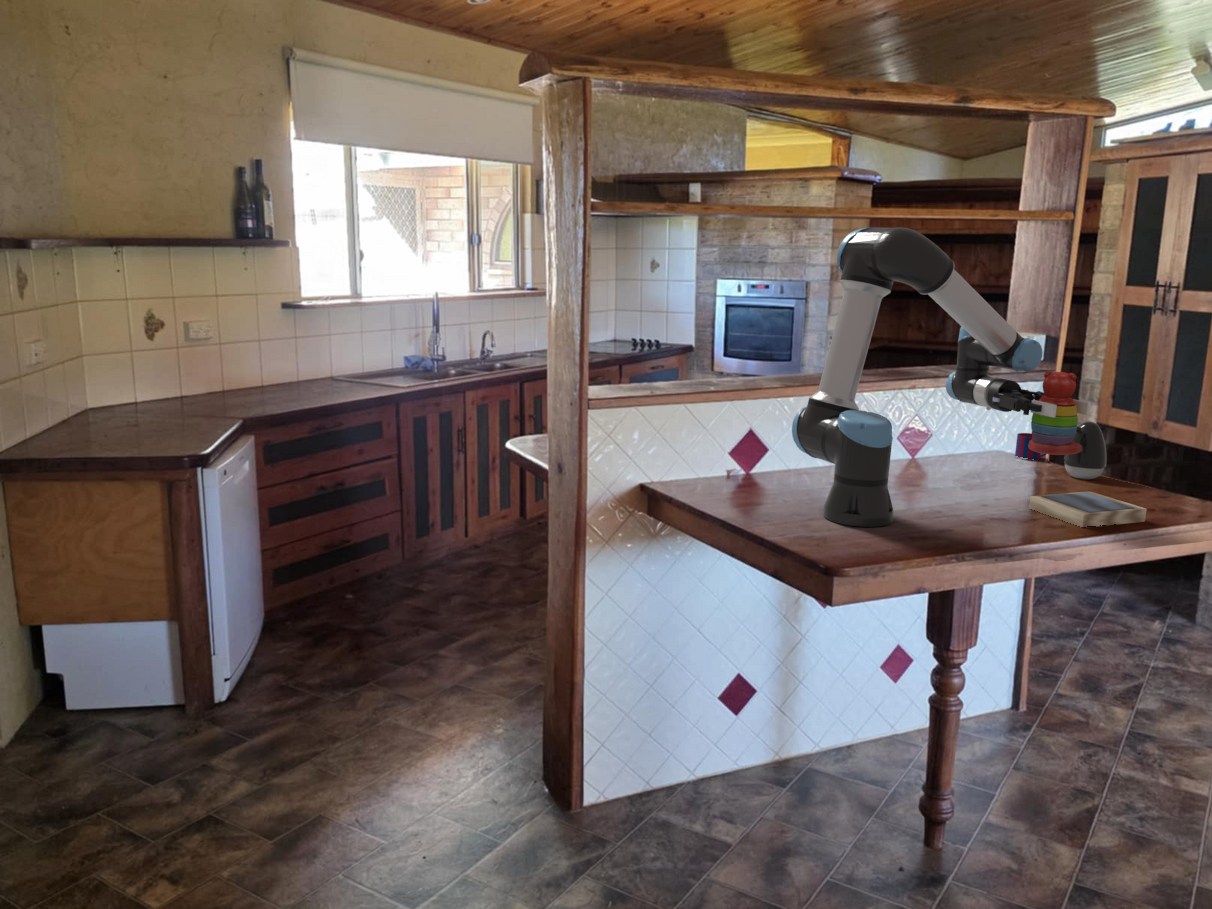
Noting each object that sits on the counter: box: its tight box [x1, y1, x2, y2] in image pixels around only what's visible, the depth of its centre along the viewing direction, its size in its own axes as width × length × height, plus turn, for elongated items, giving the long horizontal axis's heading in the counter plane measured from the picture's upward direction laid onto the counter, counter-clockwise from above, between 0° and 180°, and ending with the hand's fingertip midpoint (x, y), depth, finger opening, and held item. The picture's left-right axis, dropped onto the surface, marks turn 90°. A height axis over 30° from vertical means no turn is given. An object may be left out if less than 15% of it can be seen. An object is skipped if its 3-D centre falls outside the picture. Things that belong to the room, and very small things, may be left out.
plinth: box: [1028, 491, 1147, 528], centre depth 220 cm, size 18×16×3 cm
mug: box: [1014, 432, 1047, 461], centre depth 278 cm, size 7×10×7 cm
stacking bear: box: [1028, 370, 1082, 456], centre depth 212 cm, size 11×10×18 cm
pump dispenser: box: [1063, 421, 1107, 480], centre depth 256 cm, size 10×10×15 cm
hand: (1071, 410), depth 208 cm, fingers closed on stacking bear, 9 cm apart
